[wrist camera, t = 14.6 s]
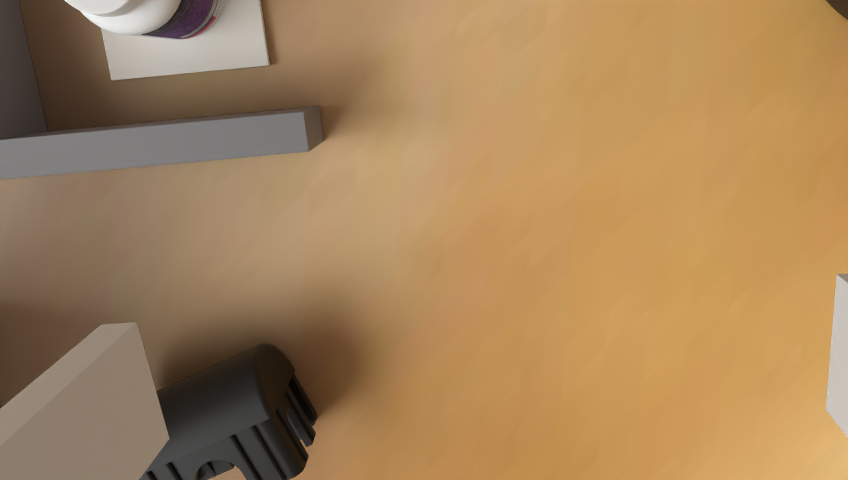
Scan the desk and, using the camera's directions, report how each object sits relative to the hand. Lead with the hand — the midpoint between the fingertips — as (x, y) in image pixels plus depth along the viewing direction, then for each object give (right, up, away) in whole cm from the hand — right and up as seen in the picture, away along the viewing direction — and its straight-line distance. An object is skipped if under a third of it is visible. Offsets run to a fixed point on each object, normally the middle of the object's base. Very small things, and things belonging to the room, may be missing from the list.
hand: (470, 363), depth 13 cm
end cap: (-13, -8, +31) cm, 35 cm away
